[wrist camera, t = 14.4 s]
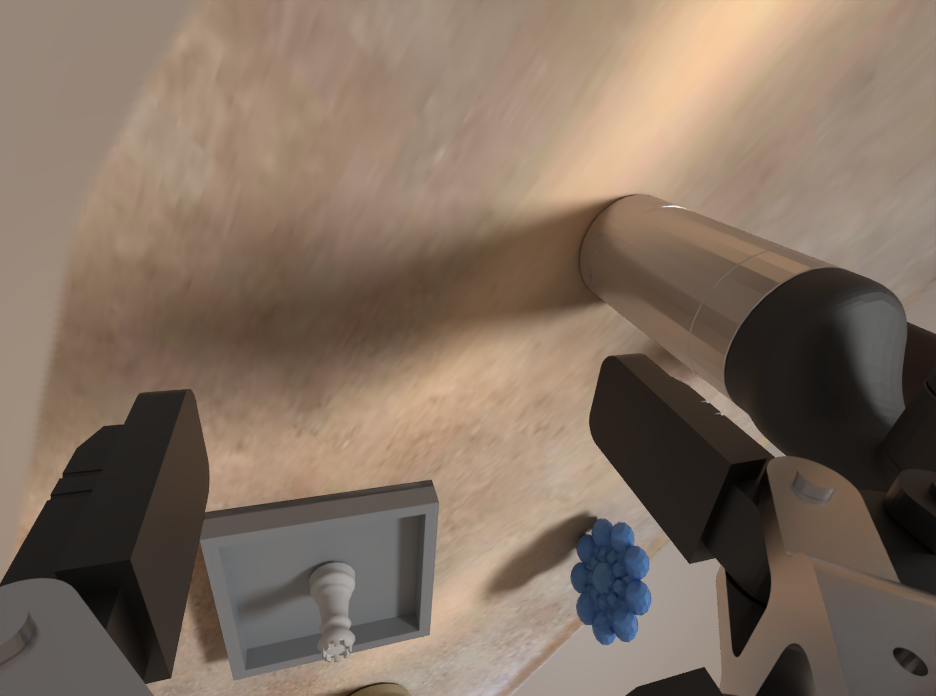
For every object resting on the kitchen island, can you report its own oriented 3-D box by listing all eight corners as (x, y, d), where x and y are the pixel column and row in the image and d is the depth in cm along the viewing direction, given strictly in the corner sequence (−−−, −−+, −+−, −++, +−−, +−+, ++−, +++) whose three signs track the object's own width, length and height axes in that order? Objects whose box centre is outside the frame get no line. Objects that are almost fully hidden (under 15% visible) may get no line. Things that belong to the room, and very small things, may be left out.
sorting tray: (431, 480, 49) (438, 502, 47) (423, 610, 59) (429, 634, 56) (205, 512, 44) (199, 539, 41) (236, 651, 53) (233, 680, 51)
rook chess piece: (326, 595, 52) (330, 675, 45) (299, 576, 49) (299, 656, 43) (363, 573, 52) (373, 649, 45) (337, 552, 49) (343, 629, 43)
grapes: (581, 574, 65) (634, 668, 55) (541, 567, 61) (589, 666, 51) (635, 508, 61) (702, 596, 51) (596, 497, 58) (658, 588, 48)
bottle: (815, 332, 55) (1040, 450, 38) (762, 347, 54) (971, 476, 37) (831, 274, 52) (1086, 377, 35) (774, 289, 50) (1011, 403, 34)
